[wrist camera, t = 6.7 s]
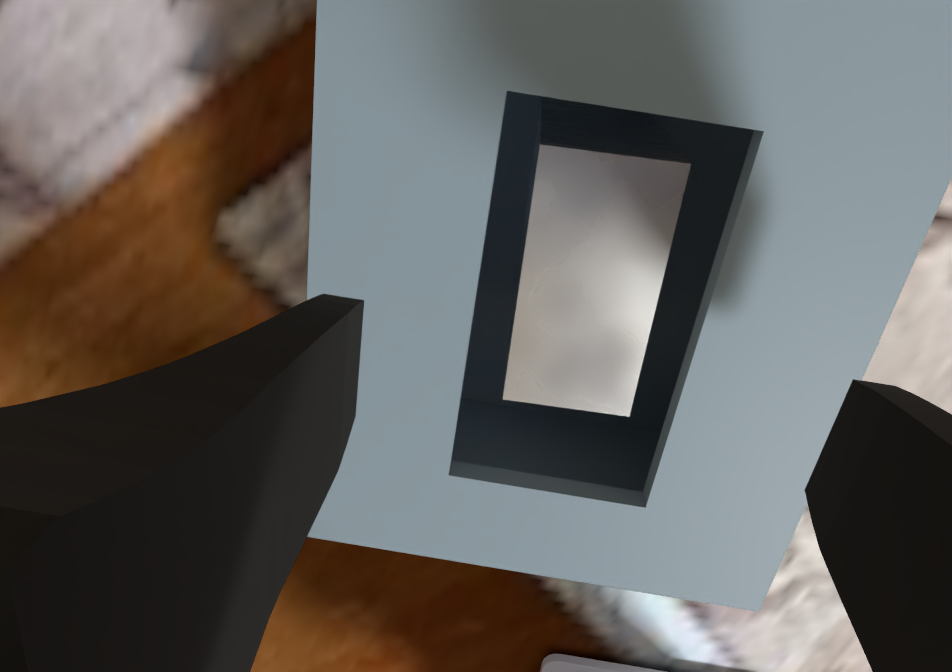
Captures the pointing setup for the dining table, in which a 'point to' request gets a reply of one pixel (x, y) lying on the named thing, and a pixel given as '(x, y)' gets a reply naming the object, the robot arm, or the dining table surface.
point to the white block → (591, 255)
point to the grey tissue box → (683, 287)
